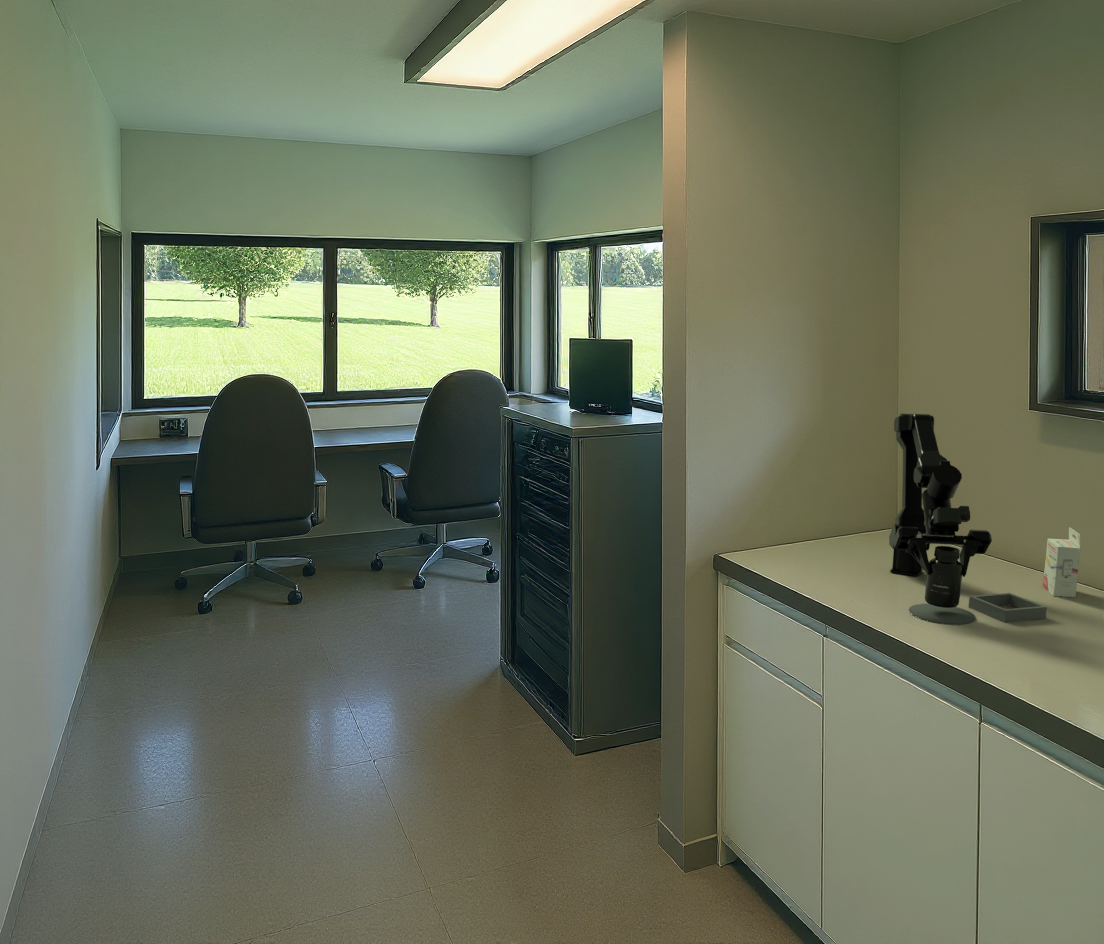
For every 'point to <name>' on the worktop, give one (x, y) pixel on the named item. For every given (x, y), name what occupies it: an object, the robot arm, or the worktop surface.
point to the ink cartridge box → (1062, 565)
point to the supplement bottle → (944, 578)
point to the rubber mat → (942, 614)
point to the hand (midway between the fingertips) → (946, 574)
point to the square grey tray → (1020, 613)
